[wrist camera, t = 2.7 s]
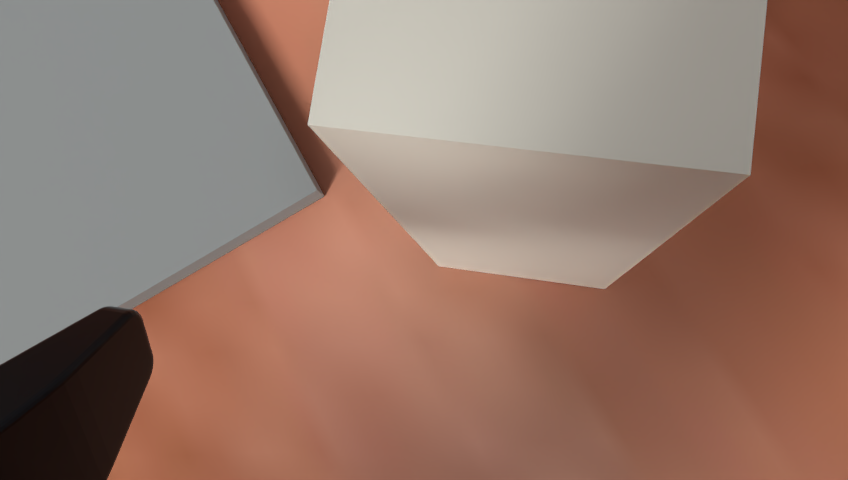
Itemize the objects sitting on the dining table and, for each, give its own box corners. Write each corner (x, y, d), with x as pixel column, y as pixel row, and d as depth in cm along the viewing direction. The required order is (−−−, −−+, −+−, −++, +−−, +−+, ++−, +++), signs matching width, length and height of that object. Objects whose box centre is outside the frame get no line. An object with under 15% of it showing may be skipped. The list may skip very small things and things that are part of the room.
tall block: (604, 289, 20) (750, 175, 7) (438, 266, 21) (307, 124, 8) (623, 127, 21) (790, -240, 8) (462, 110, 21) (374, -255, 9)
